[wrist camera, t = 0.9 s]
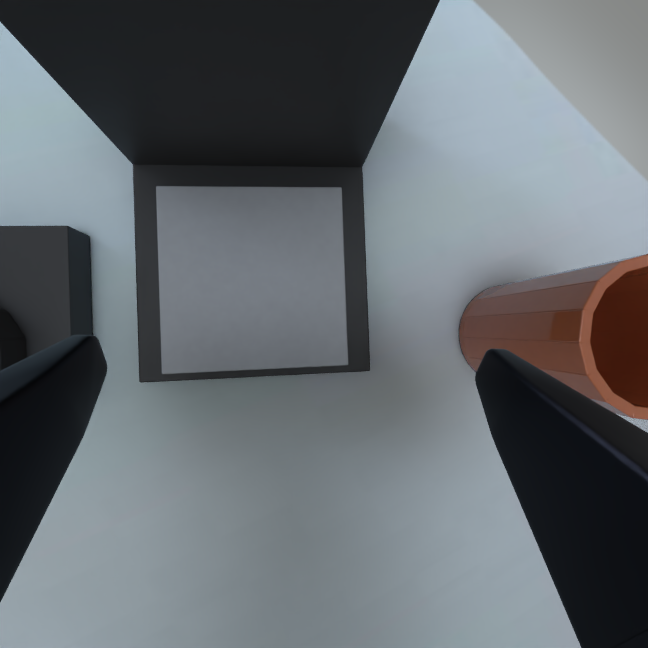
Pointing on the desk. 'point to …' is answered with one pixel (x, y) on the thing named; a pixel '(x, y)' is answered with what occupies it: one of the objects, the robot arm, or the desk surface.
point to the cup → (572, 330)
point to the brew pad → (42, 289)
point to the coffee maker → (238, 164)
